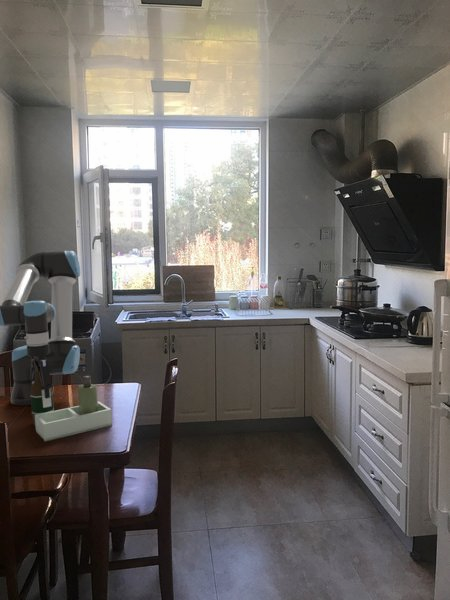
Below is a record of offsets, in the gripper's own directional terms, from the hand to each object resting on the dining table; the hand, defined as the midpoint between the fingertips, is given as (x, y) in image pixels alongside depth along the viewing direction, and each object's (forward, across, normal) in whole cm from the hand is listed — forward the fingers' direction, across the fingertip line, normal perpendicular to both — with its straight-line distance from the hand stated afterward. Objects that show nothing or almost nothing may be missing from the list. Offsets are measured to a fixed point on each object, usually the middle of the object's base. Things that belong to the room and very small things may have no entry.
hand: (42, 402), depth 178 cm
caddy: (+8, +13, +7) cm, 17 cm away
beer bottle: (+8, 0, 0) cm, 8 cm away
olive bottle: (+7, +13, +12) cm, 19 cm away
